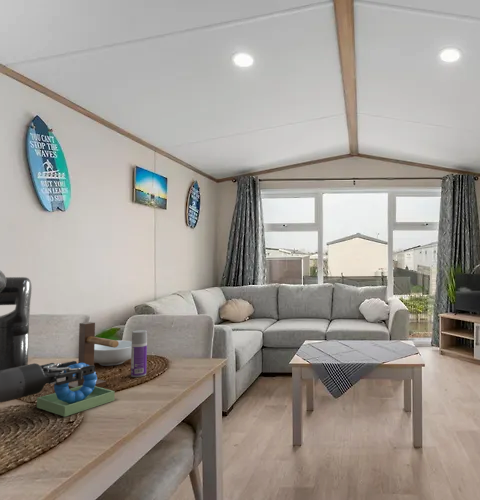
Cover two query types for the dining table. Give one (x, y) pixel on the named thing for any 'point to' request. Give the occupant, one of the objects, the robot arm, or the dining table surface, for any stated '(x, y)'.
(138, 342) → the container
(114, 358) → the cereal bowl
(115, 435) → the dining table surface
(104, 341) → the rack
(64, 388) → the ring
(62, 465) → the dining table surface
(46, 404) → the tray
